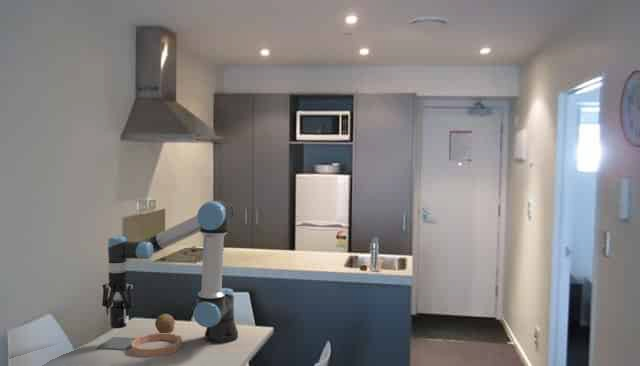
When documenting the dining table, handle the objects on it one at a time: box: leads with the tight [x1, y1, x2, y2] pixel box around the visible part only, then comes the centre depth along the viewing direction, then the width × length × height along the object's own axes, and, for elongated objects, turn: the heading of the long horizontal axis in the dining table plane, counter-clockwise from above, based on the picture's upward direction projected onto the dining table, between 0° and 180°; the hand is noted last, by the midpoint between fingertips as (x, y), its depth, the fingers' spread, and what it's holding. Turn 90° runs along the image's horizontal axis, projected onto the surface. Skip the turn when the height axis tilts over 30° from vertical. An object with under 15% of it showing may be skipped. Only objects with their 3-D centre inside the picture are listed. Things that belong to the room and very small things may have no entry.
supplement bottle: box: [109, 298, 127, 329], centre depth 242 cm, size 7×7×12 cm
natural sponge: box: [154, 313, 176, 333], centre depth 255 cm, size 9×9×10 cm
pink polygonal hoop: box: [131, 332, 183, 357], centre depth 237 cm, size 21×21×3 cm
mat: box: [95, 336, 137, 351], centre depth 242 cm, size 14×14×1 cm
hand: (118, 322), depth 242 cm, fingers closed on supplement bottle, 7 cm apart
